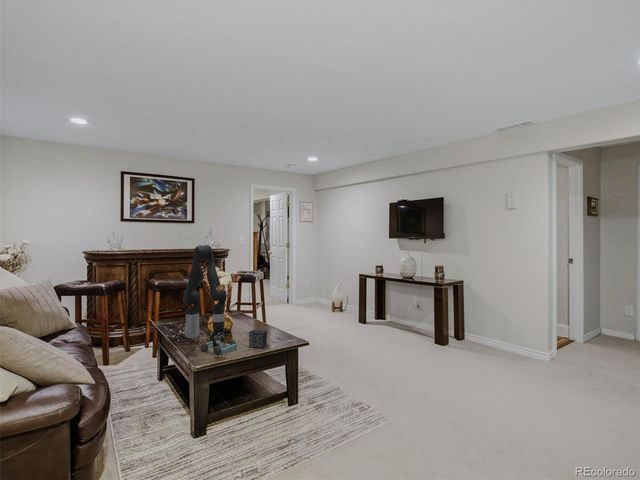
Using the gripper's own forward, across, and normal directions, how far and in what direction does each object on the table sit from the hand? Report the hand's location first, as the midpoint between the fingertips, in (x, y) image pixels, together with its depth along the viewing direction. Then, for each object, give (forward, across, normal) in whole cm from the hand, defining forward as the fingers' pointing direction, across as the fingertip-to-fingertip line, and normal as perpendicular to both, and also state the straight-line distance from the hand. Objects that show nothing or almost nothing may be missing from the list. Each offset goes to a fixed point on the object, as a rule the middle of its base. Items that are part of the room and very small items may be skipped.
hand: (218, 345), depth 231 cm
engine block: (+3, 0, 0) cm, 3 cm away
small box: (+3, -17, +19) cm, 26 cm away
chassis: (+3, 0, 0) cm, 3 cm away
